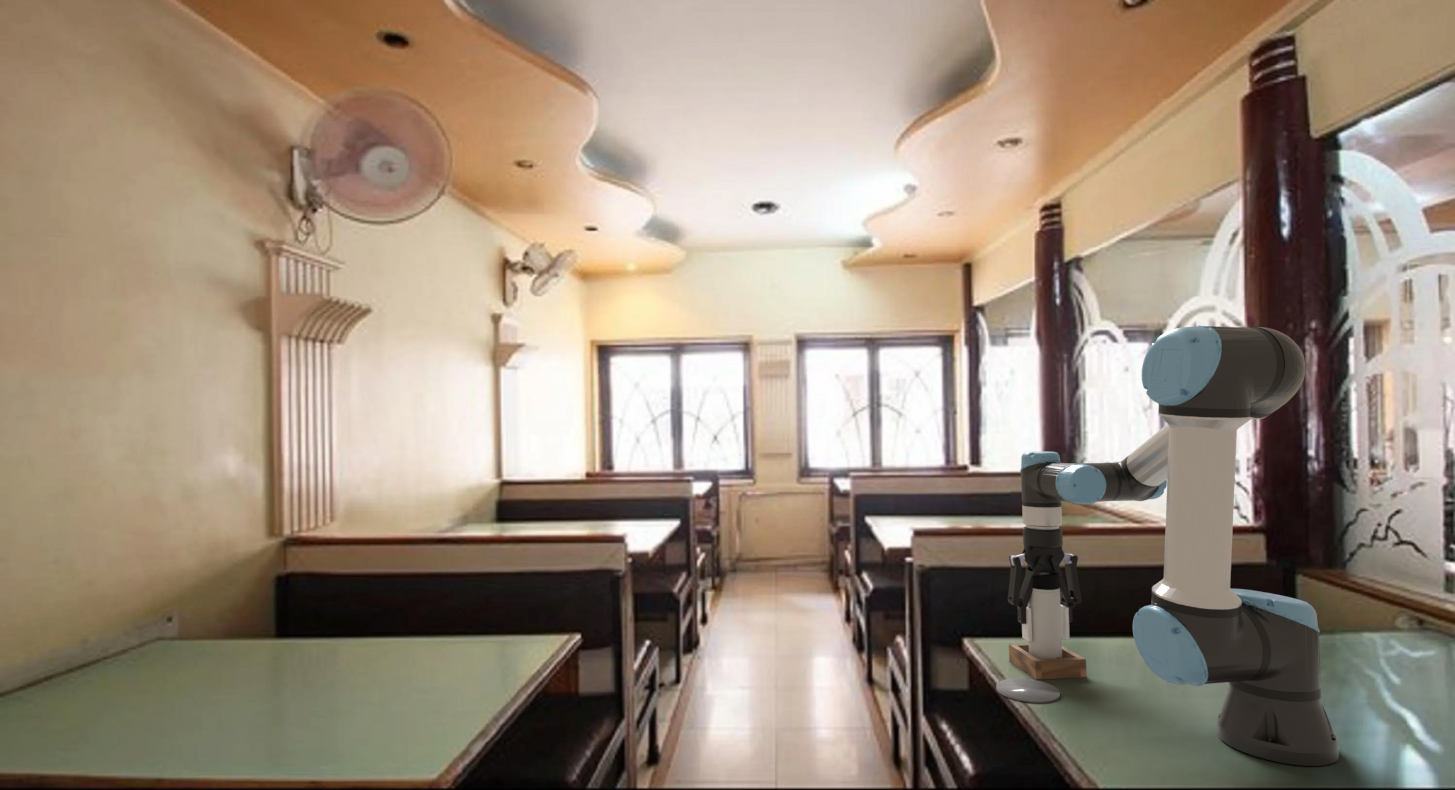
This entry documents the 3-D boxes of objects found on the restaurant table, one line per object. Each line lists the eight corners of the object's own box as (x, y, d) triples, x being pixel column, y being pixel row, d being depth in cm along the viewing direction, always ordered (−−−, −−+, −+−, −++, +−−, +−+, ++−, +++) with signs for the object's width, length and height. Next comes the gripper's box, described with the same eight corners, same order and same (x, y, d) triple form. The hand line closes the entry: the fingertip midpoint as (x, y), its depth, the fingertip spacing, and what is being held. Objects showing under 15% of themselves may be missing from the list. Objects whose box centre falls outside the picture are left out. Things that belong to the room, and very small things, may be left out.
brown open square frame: (1086, 677, 146) (1086, 659, 146) (1035, 679, 145) (1035, 661, 145) (1056, 659, 157) (1056, 642, 157) (1009, 660, 157) (1008, 644, 157)
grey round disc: (1071, 701, 134) (1071, 698, 134) (1012, 704, 133) (1012, 700, 133) (1041, 680, 144) (1041, 677, 144) (986, 682, 144) (986, 679, 144)
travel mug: (1069, 673, 148) (1066, 573, 149) (1036, 674, 148) (1033, 573, 149) (1056, 663, 154) (1053, 567, 155) (1024, 664, 154) (1021, 567, 155)
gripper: (1079, 522, 157) (1082, 632, 156) (987, 525, 155) (990, 635, 155) (1099, 527, 149) (1103, 642, 149) (1003, 530, 148) (1006, 646, 147)
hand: (1045, 638), depth 152 cm, fingers open, 7 cm apart
